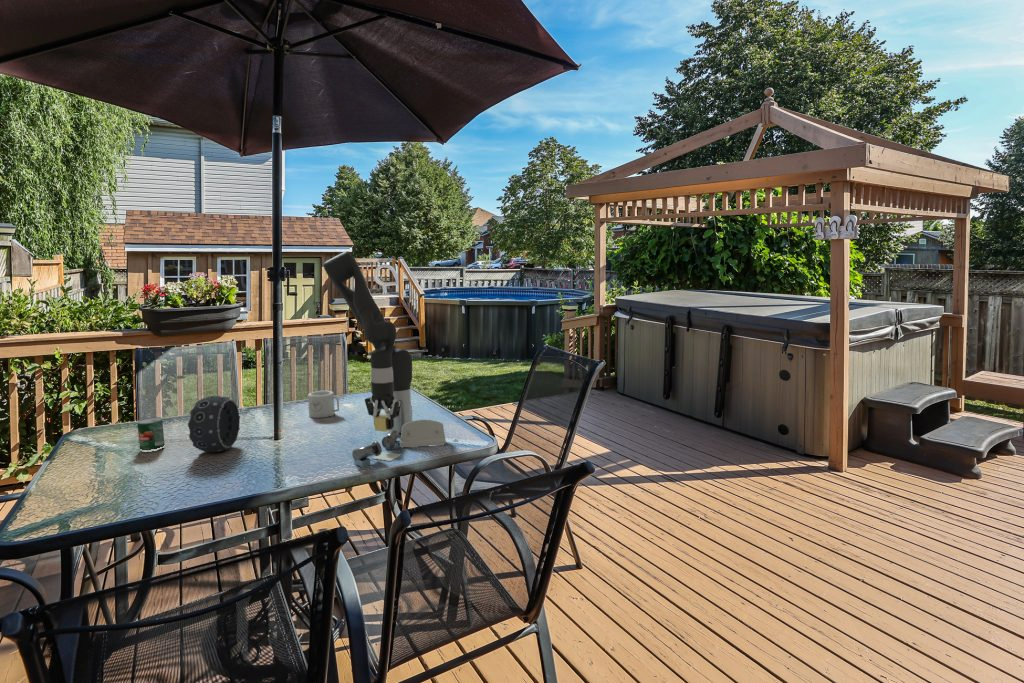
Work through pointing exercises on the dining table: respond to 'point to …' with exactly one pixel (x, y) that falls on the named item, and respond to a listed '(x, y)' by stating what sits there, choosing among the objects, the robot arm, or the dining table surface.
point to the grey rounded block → (422, 433)
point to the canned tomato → (150, 433)
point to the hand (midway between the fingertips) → (384, 428)
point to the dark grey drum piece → (214, 423)
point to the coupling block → (381, 423)
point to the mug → (322, 404)
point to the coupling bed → (386, 456)
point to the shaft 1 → (366, 454)
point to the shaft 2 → (391, 440)
